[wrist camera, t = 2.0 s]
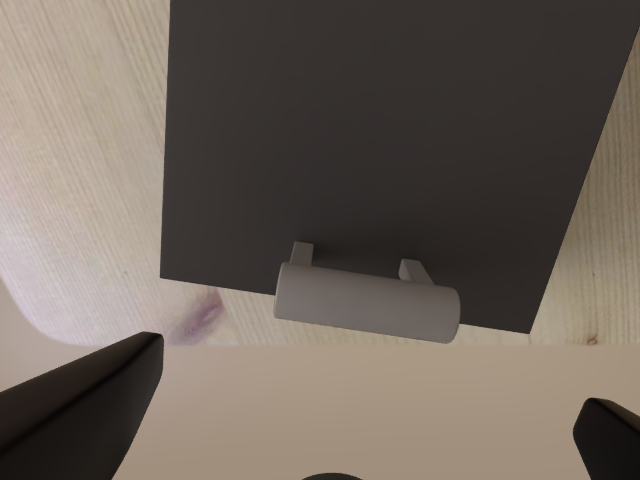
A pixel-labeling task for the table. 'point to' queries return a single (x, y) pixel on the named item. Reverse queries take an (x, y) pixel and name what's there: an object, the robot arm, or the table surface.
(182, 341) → the table surface
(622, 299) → the table surface
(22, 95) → the table surface
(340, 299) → the lid
